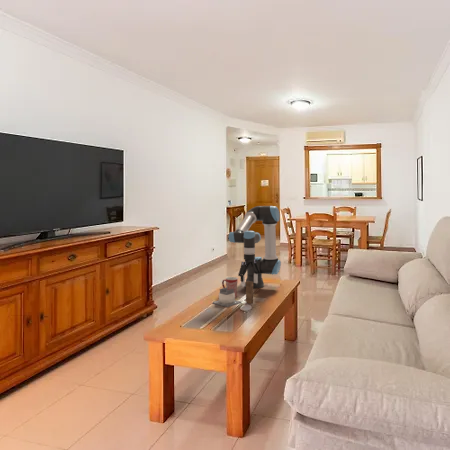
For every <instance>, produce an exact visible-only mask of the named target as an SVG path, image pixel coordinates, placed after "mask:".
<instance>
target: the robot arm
mask: <svg viewBox="0 0 450 450" xmlns="http://www.w3.org/2000/svg"><path fill="white" fill-rule="evenodd" d="M280 215H281V214H280V211H279V208H278V207H277V206H273V205H257V206H254V207H252V208H250V209H249V210H248V211H246V213H245V214H244V218H243V219H242V220H241V222H240V224H239V225H238V227H237V228H236V229H235V231H230V232H229V234H228V241H229V242H230V243H234V244H240V243H241V244H243V253H244V254H243V260H244V261H241V265H240V268H239V272H238V274H237V275H238V277H239V278H240V286H241V287H246V281H252V282H253V289H259V288H263V287H265V283H264V280H263V275H272V276H273V275H278V274H279V272H280V270H281V265H282V261H281V259H279V257H278V255H277V239H276V238H277V237H276V235H277V234H276V232H277V230H276V226H277V225H278V222H280V217H281V216H280ZM256 222H261V223H262V225H263V228H264V229H263V230H264V254H265V255H264V256H263V257H262V256H256V244H258V243H259V242H260V241H261V239H262V237H261V234H260V232H257V231H254V230H250V228H251V227H252V225H253V224H255V223H256ZM245 275H246V276H247V277H245ZM245 278H246V279H245Z"/></svg>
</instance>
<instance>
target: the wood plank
mask: <svg viewBox="0 0 450 450" xmlns="http://www.w3.org/2000/svg"><path fill="white" fill-rule="evenodd" d="M245 282H246V286H245V303H246V304H250V305H252V304H254V288H253V282H252V281H246V280H245Z"/></svg>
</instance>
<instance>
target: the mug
mask: <svg viewBox="0 0 450 450" xmlns="http://www.w3.org/2000/svg"><path fill="white" fill-rule="evenodd" d="M238 280H239V278H238V277H236V276H235V277H234V276H227V277H225V279H222V281H221V285H222V288H226V287H227V290H230V289H234V293H235V298H236V297H237V296H238V294H237V293H238ZM224 283H225V284H226V285H225V284H224Z"/></svg>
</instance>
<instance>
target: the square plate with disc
mask: <svg viewBox="0 0 450 450" xmlns="http://www.w3.org/2000/svg"><path fill="white" fill-rule="evenodd" d="M212 302H213V303H212V304H214V305H218V306H222V307H226V308H229V307H231V306H235V305H239V304H241V303H242V301H239V300H236V297H235V293H234V289H230V290H227V287H226V286H225V288H223V287H222V288H220V289H219V292H218V300H216V301H212Z"/></svg>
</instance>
